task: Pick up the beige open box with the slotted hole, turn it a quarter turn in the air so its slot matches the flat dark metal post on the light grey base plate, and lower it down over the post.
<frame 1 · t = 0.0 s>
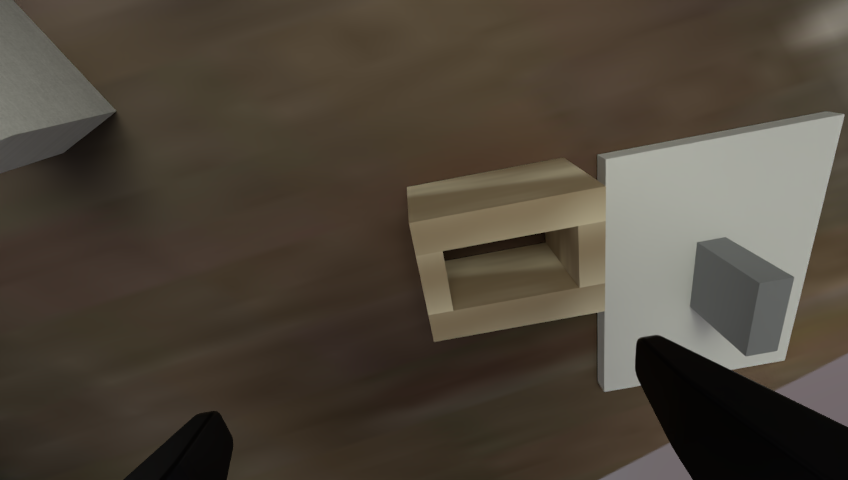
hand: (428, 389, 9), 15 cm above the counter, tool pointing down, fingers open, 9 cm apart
post stand: (695, 265, 25), on the counter
beige open box: (491, 226, 24), on the counter
tea bag: (30, 68, 19), on the counter
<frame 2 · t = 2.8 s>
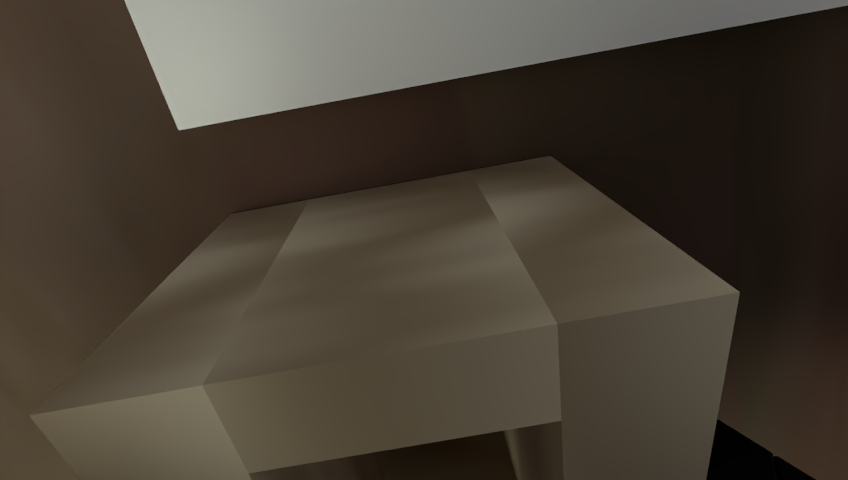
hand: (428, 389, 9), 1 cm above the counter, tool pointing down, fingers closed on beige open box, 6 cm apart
beige open box: (424, 351, 10), on the counter, touching gripper
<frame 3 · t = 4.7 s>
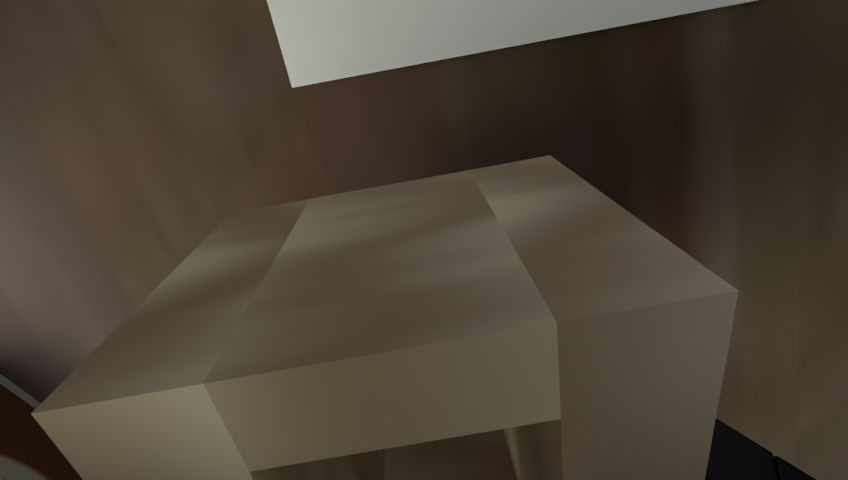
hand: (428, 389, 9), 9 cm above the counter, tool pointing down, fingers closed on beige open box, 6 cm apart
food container: (28, 446, 21), on the counter
beige open box: (424, 350, 10), point 7 cm above the counter, touching gripper
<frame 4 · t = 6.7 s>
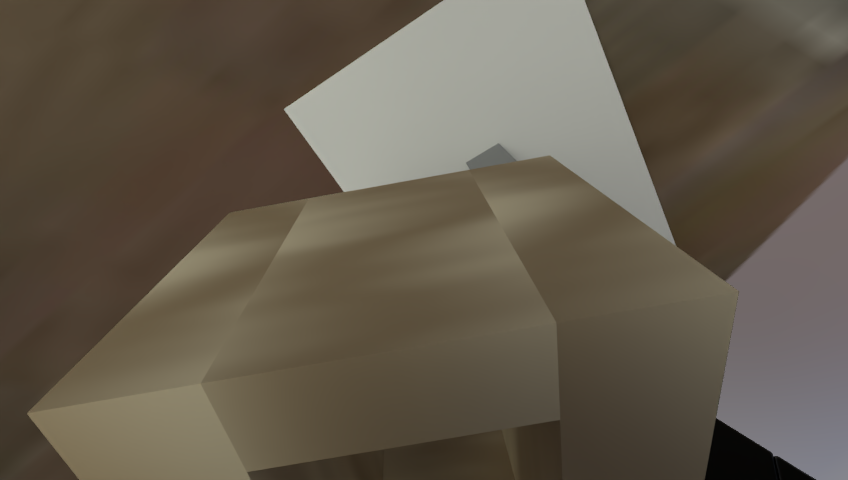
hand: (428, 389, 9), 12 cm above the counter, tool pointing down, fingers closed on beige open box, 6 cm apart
post stand: (499, 187, 20), on the counter
beige open box: (423, 350, 10), point 11 cm above the counter, touching gripper
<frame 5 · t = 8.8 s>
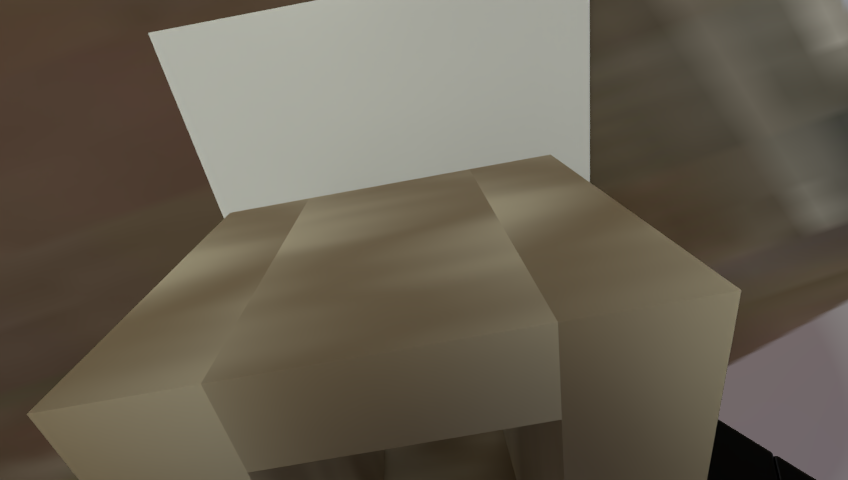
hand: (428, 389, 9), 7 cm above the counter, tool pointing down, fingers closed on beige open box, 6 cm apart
post stand: (417, 241, 15), on the counter
beige open box: (424, 350, 10), point 6 cm above the counter, touching gripper
when the fingers open (4 cm above the counter, at t = 10.8 s): beige open box drops 2 cm, resting on post stand.
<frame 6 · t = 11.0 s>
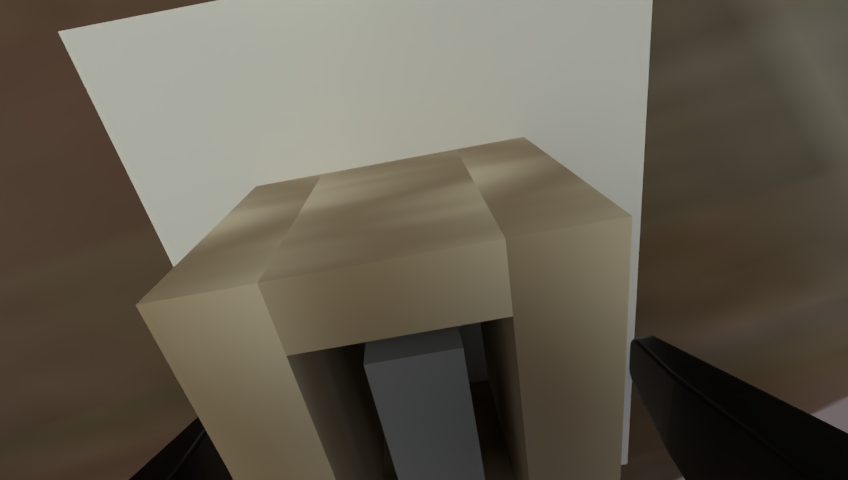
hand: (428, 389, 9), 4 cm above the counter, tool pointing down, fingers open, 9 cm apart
post stand: (420, 289, 13), on the counter
beige open box: (420, 308, 12), point 1 cm above the counter, touching post stand
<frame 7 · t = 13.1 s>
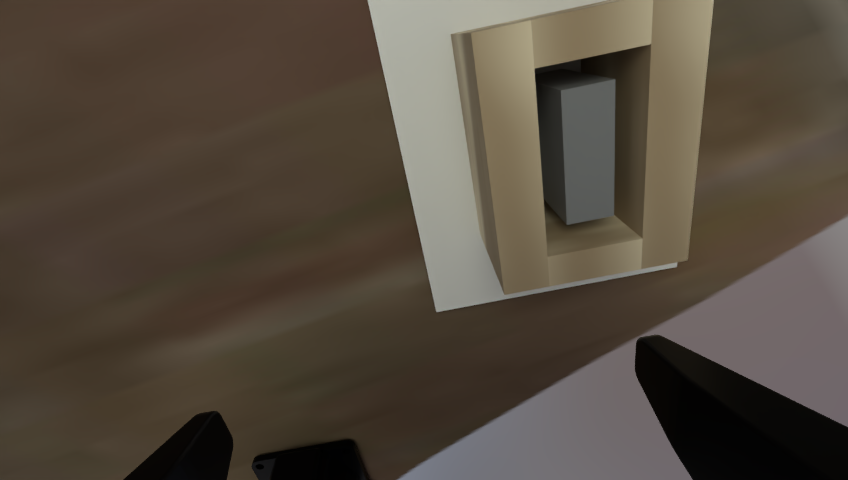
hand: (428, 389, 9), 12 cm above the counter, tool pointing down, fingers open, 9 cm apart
post stand: (537, 124, 18), on the counter
beige open box: (543, 129, 17), point 1 cm above the counter, touching post stand
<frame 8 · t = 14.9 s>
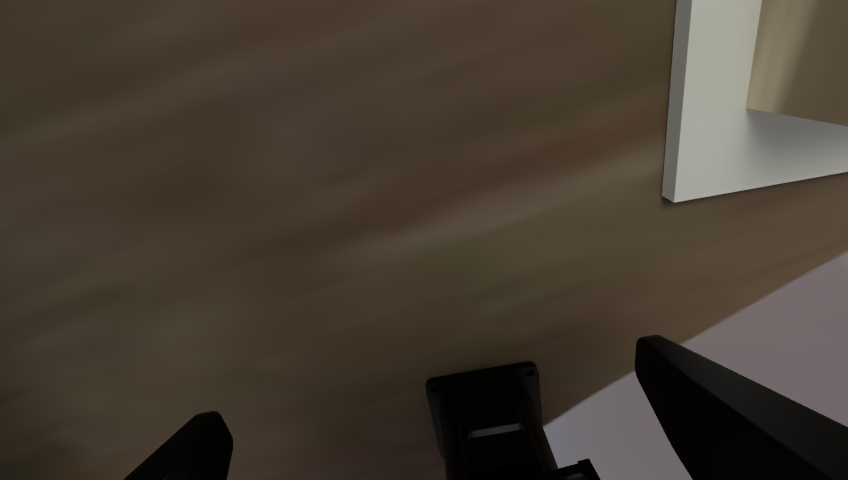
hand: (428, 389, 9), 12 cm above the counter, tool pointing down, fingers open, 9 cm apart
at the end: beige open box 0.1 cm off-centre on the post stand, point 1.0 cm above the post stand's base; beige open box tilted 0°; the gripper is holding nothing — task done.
